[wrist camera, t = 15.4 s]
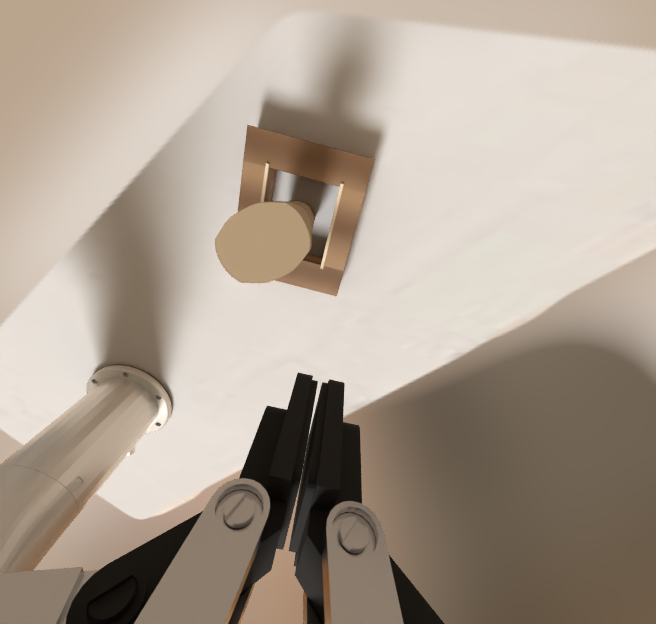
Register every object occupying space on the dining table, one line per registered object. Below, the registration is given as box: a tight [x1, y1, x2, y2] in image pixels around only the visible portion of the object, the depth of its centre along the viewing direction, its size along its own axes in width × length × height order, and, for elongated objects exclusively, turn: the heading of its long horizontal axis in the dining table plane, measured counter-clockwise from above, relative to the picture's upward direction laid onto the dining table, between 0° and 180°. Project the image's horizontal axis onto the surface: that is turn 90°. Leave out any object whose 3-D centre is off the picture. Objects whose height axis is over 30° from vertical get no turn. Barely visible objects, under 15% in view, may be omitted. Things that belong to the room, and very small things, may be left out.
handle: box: [215, 201, 315, 283], centre depth 26 cm, size 5×6×15 cm
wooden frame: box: [238, 125, 375, 296], centre depth 32 cm, size 14×12×3 cm
